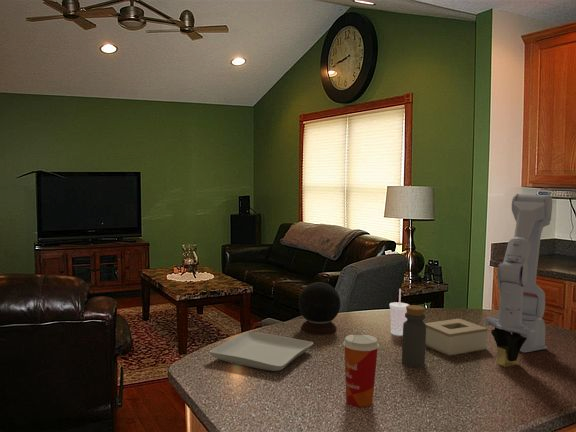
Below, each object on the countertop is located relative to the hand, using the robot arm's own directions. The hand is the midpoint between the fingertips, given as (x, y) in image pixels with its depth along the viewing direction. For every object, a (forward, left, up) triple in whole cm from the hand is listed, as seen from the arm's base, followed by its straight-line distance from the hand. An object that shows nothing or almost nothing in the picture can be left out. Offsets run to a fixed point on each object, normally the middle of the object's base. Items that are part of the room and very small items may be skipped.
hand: (507, 358), depth 141 cm
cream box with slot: (+3, -17, -1) cm, 17 cm away
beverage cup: (+10, -33, -2) cm, 35 cm away
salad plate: (+57, -30, -2) cm, 64 cm away
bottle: (+23, -10, -2) cm, 25 cm away
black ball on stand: (+31, -46, -2) cm, 55 cm away
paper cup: (+49, +4, -2) cm, 49 cm away
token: (0, 0, -1) cm, 1 cm away
